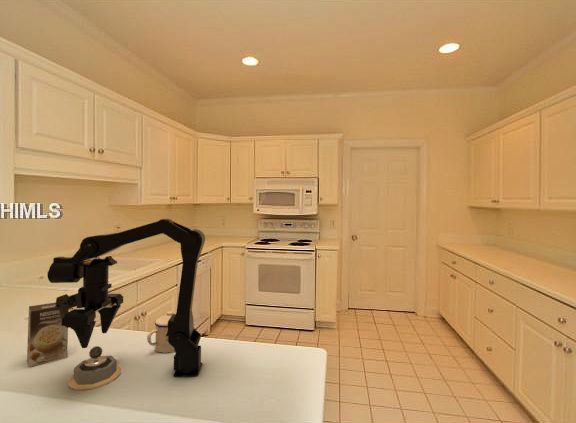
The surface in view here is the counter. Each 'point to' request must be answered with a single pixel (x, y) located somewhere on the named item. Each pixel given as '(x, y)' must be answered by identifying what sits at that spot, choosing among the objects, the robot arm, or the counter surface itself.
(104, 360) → the plunger
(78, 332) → the robot arm
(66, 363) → the counter surface
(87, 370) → the grey bowl
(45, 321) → the coffee box
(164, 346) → the teacup with lid
